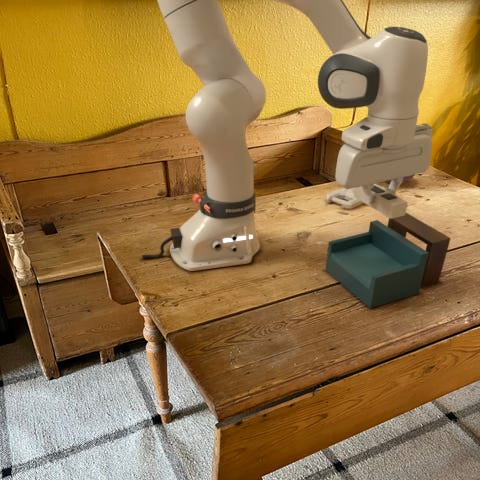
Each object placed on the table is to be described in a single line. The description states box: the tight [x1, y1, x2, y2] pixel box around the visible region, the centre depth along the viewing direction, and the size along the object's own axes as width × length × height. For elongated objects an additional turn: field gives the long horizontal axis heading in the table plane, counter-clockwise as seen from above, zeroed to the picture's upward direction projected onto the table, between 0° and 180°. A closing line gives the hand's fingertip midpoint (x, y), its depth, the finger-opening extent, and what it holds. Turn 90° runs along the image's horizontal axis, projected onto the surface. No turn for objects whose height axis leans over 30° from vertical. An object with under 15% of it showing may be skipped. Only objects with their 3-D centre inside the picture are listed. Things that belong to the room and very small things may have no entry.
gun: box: [325, 183, 388, 210], centre depth 147 cm, size 18×4×10 cm
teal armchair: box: [325, 219, 429, 309], centre depth 109 cm, size 13×17×10 cm
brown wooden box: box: [386, 212, 452, 288], centre depth 113 cm, size 5×14×11 cm, turn 25°
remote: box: [354, 183, 408, 219], centre depth 99 cm, size 4×12×3 cm, turn 25°
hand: (379, 200), depth 100 cm, fingers closed on remote, 3 cm apart
